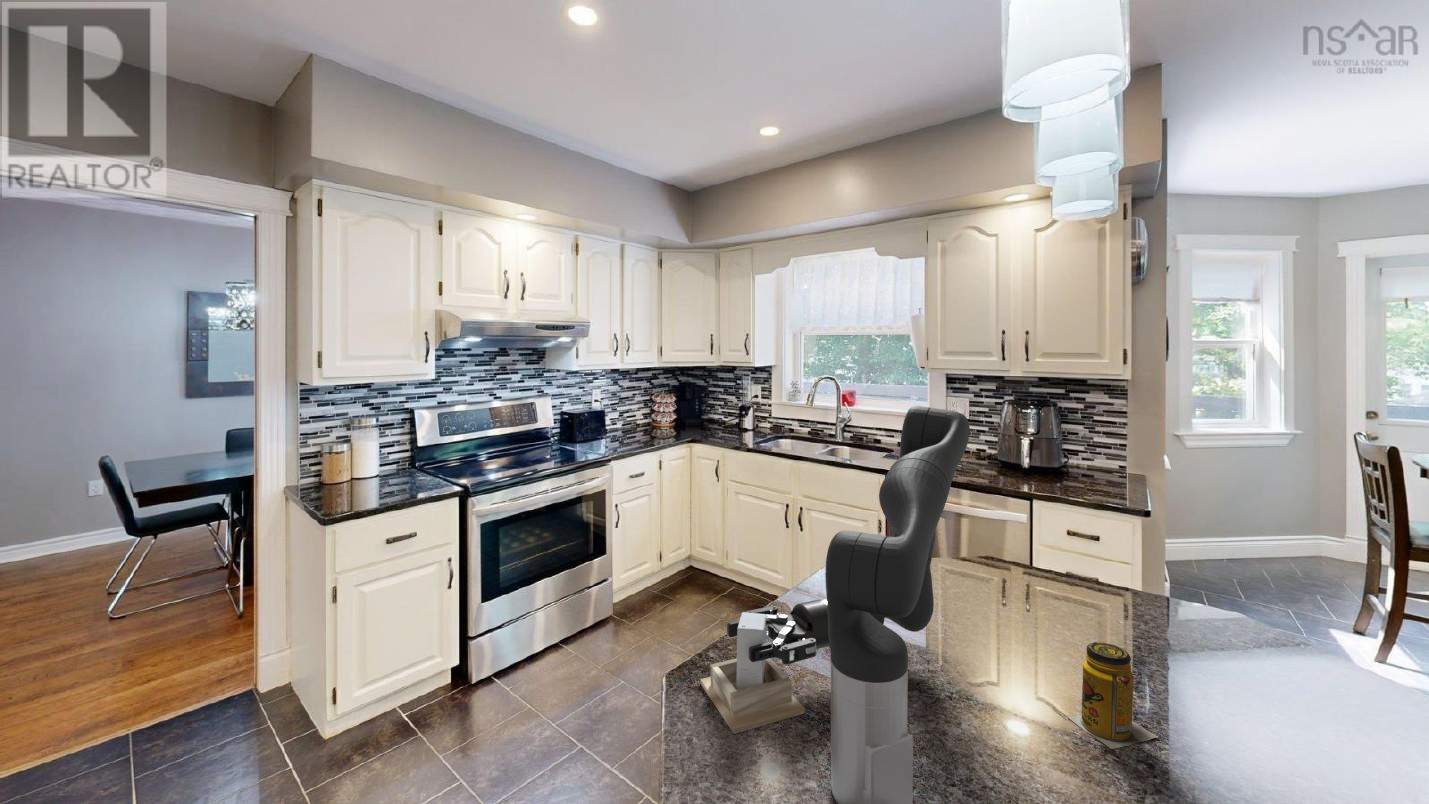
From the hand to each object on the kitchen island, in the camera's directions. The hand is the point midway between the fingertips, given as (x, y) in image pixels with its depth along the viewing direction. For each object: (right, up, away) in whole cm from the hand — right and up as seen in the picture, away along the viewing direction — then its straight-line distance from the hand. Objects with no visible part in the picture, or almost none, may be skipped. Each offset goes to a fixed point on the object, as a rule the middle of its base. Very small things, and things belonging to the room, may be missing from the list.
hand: (738, 642), depth 90 cm
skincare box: (+2, -9, +2) cm, 9 cm away
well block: (+2, -10, +2) cm, 10 cm away
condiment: (+54, -10, -8) cm, 56 cm away
